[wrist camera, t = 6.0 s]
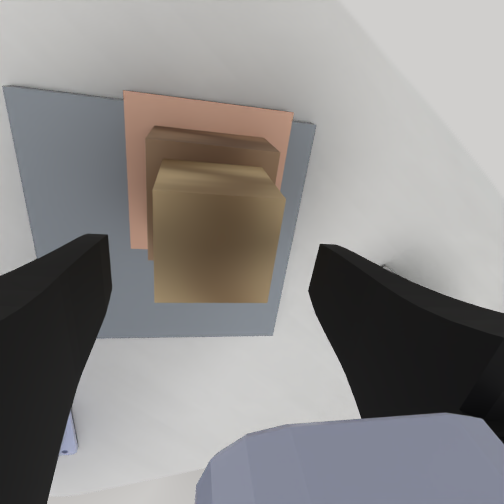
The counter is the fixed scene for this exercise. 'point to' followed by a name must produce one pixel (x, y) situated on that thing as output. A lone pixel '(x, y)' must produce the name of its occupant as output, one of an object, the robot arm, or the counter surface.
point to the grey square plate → (139, 195)
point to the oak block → (214, 232)
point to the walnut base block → (202, 156)
